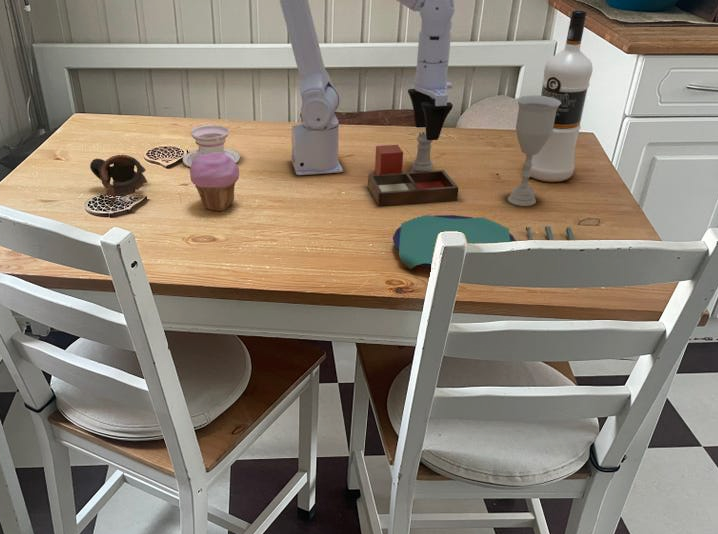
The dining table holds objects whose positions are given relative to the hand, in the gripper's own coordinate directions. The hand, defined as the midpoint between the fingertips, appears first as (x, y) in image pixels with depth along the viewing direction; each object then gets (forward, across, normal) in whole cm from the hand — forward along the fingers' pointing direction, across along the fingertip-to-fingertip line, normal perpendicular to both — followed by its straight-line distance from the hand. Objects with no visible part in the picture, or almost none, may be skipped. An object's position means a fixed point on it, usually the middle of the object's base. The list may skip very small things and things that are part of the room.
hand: (426, 133), depth 141 cm
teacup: (+8, +15, +42) cm, 45 cm away
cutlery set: (+8, -35, 0) cm, 36 cm away
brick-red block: (+8, 0, +7) cm, 11 cm away
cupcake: (+8, -9, +42) cm, 44 cm away
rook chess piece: (+8, 0, 0) cm, 8 cm away
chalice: (+8, -16, -14) cm, 23 cm away
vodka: (+8, -5, -24) cm, 26 cm away
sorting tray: (+8, -10, +5) cm, 14 cm away
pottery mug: (+8, +1, +60) cm, 60 cm away
